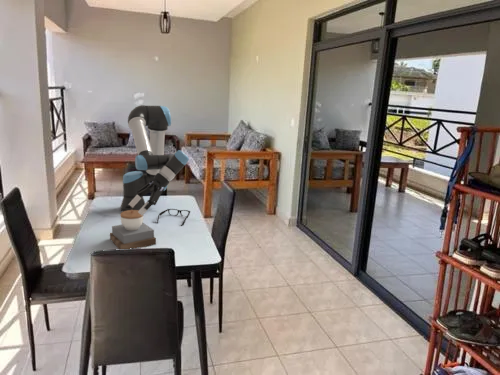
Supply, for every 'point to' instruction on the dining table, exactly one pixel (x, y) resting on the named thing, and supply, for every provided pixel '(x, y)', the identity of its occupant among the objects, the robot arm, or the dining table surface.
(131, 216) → the lidded jar
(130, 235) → the charcoal grey block
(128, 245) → the walnut block
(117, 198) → the dining table surface
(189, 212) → the glasses
